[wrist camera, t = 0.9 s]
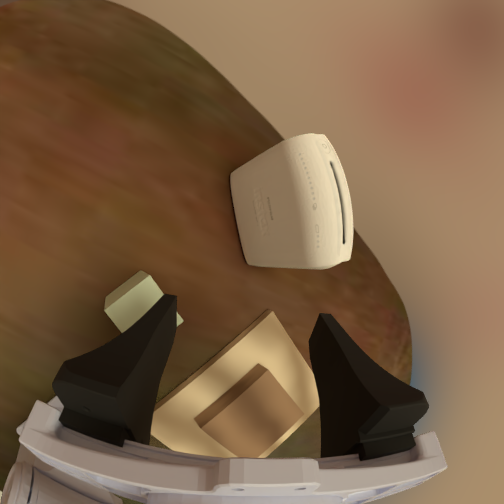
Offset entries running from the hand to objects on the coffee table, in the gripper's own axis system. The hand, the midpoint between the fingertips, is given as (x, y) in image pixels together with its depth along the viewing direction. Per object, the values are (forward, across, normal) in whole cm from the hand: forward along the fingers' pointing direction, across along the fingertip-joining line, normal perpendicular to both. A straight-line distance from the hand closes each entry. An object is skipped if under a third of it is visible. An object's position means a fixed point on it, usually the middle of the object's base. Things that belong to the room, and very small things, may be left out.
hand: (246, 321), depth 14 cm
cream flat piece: (+6, -2, +19) cm, 20 cm away
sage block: (+8, +9, +6) cm, 13 cm away
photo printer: (+16, 0, 0) cm, 16 cm away
